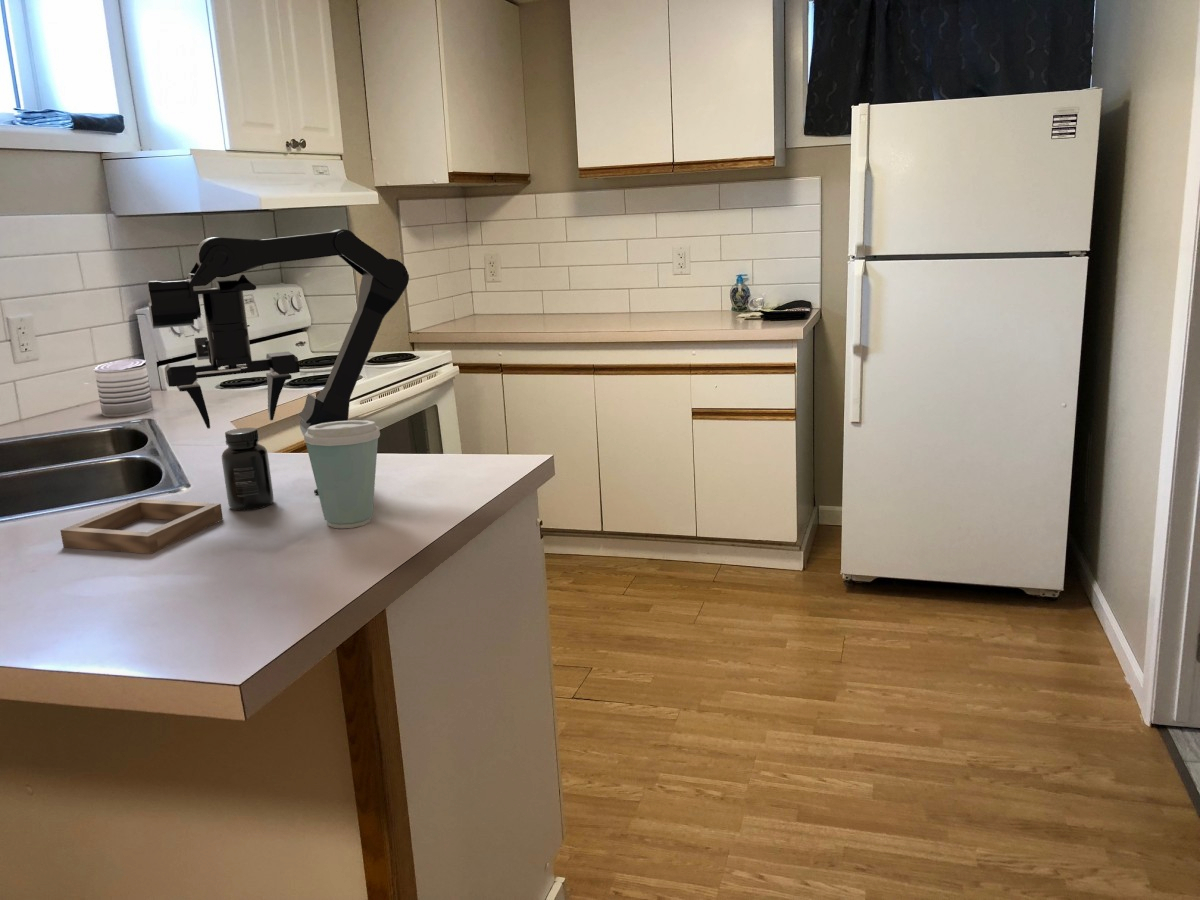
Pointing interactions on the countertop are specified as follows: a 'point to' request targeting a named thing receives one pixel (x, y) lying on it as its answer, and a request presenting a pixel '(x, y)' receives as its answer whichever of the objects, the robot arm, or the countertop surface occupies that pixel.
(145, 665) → the countertop surface
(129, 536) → the square wooden frame
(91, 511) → the countertop surface
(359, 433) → the disposable coffee cup
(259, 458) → the supplement bottle
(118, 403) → the white ridged cylinder
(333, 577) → the countertop surface
